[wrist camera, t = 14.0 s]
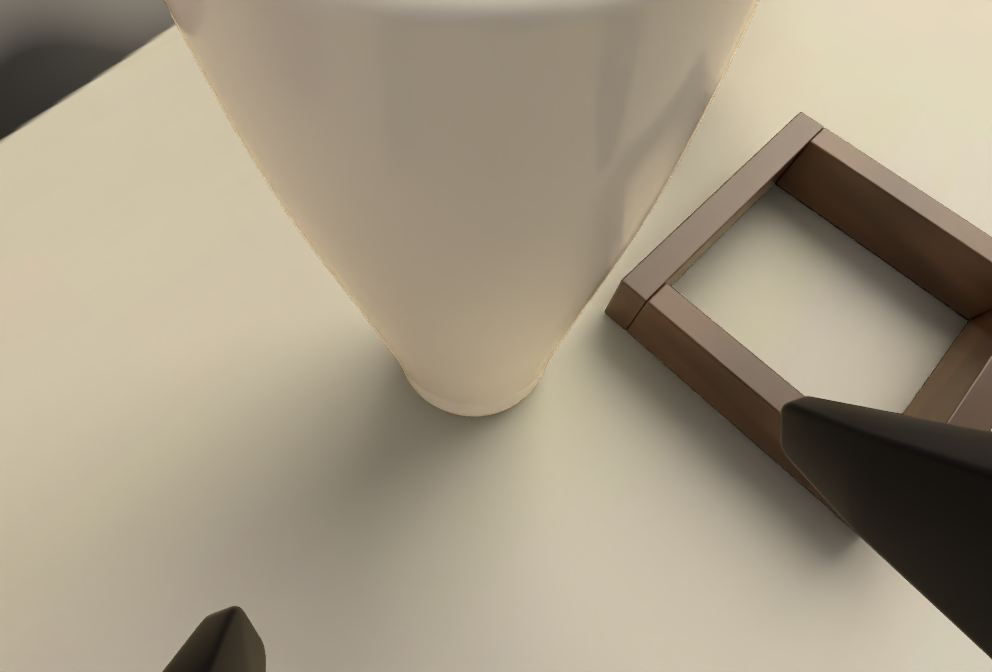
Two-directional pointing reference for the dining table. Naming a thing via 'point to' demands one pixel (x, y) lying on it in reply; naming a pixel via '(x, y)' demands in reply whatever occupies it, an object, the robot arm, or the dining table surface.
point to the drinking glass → (466, 156)
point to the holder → (862, 215)
